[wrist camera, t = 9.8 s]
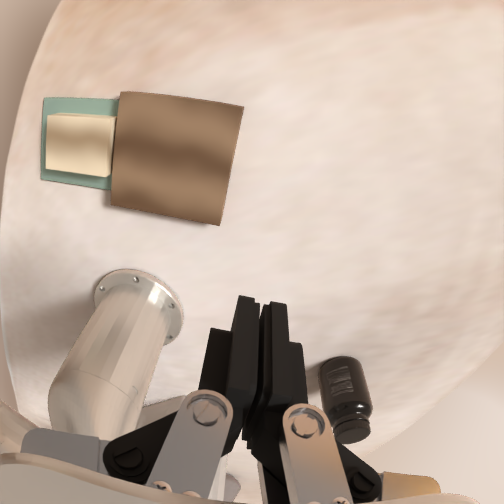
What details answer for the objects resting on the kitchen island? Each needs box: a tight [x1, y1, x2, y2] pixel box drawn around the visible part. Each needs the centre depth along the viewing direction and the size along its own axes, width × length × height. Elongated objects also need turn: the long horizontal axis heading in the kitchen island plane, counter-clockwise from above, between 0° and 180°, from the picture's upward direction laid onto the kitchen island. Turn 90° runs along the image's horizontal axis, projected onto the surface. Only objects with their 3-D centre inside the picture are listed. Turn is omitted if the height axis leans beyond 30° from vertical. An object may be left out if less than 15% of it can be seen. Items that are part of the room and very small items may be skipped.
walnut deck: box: [111, 91, 244, 226], centre depth 30 cm, size 12×12×2 cm
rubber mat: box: [41, 98, 119, 190], centre depth 30 cm, size 10×11×1 cm
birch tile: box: [46, 113, 117, 177], centre depth 29 cm, size 6×8×2 cm
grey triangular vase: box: [135, 396, 228, 501], centre depth 41 cm, size 19×15×28 cm
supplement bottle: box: [318, 357, 373, 444], centre depth 40 cm, size 7×7×12 cm
